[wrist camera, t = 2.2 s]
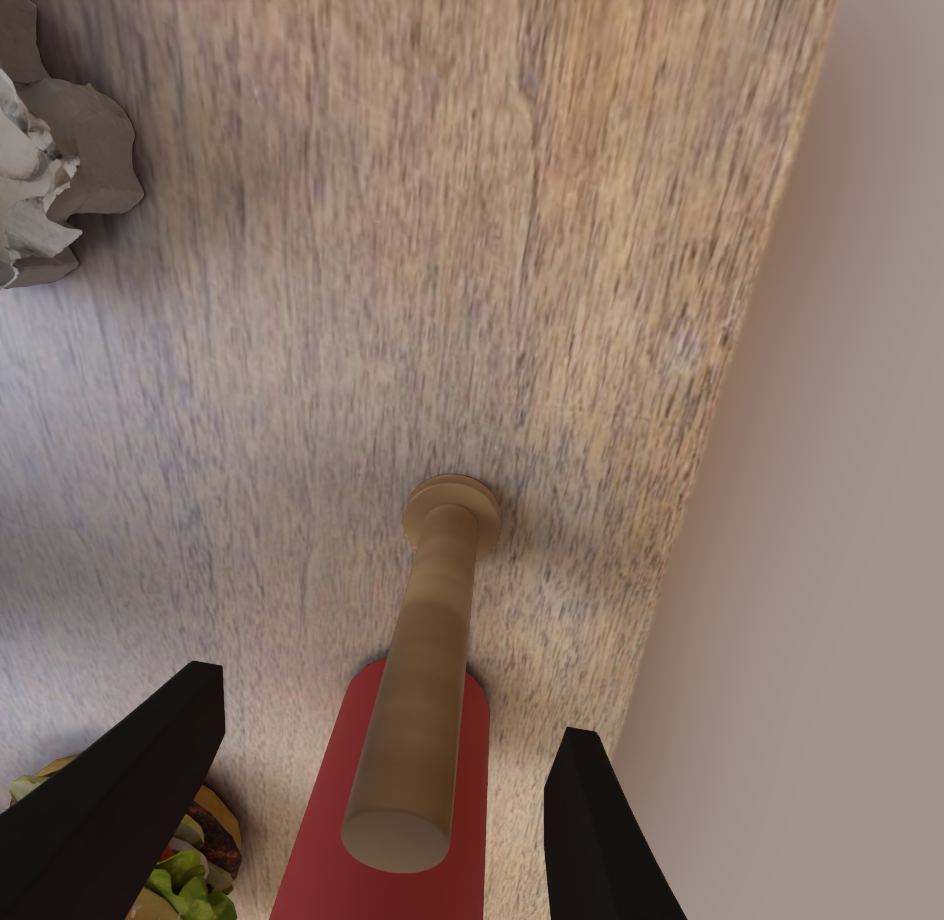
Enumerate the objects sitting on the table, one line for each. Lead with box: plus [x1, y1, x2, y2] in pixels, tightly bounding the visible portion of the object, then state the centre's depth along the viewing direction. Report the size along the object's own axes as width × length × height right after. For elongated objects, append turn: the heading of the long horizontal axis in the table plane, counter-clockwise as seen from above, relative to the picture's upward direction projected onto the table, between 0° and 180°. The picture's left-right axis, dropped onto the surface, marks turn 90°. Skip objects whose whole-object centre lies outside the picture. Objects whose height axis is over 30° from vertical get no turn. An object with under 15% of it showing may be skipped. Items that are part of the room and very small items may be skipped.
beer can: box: [269, 656, 490, 920], centre depth 18 cm, size 7×7×12 cm
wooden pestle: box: [341, 474, 501, 873], centre depth 15 cm, size 4×4×11 cm
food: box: [0, 755, 242, 920], centre depth 26 cm, size 14×14×8 cm
